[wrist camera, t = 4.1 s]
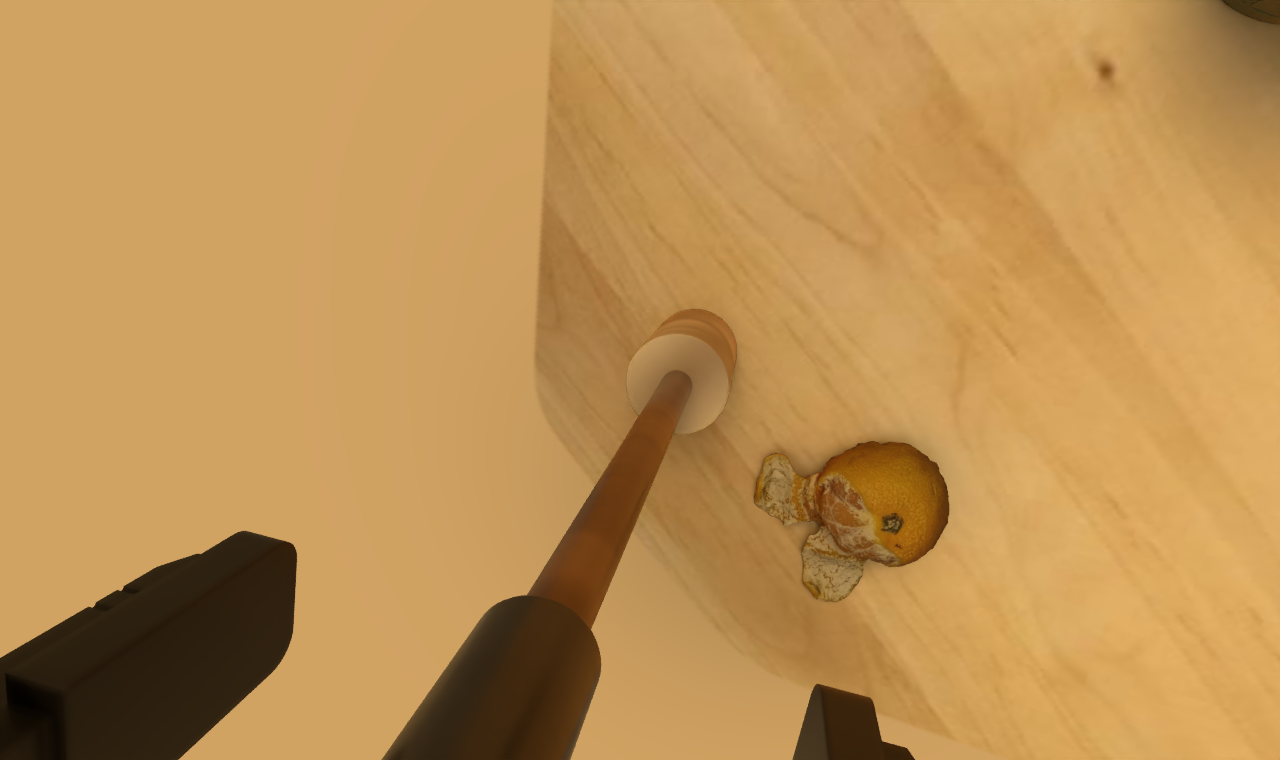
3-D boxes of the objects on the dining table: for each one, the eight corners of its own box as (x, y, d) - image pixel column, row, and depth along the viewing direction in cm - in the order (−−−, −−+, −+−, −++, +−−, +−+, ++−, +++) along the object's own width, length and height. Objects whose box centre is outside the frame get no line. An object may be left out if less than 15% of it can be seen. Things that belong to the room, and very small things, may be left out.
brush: (636, 353, 34) (157, 875, 7) (690, 291, 33) (357, 640, 6) (698, 407, 34) (449, 1120, 7) (754, 347, 33) (700, 933, 6)
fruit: (736, 469, 35) (732, 498, 31) (893, 389, 32) (908, 410, 29) (819, 605, 35) (825, 649, 32) (977, 536, 33) (1002, 575, 30)
